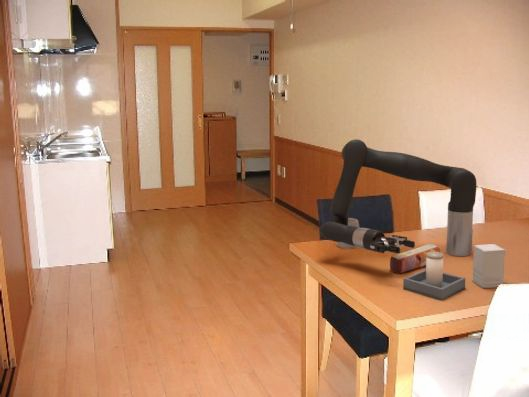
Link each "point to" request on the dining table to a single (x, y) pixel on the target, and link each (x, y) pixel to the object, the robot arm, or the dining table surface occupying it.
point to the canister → (434, 269)
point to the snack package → (411, 258)
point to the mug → (350, 223)
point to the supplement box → (488, 265)
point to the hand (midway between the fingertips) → (407, 247)
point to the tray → (449, 286)
